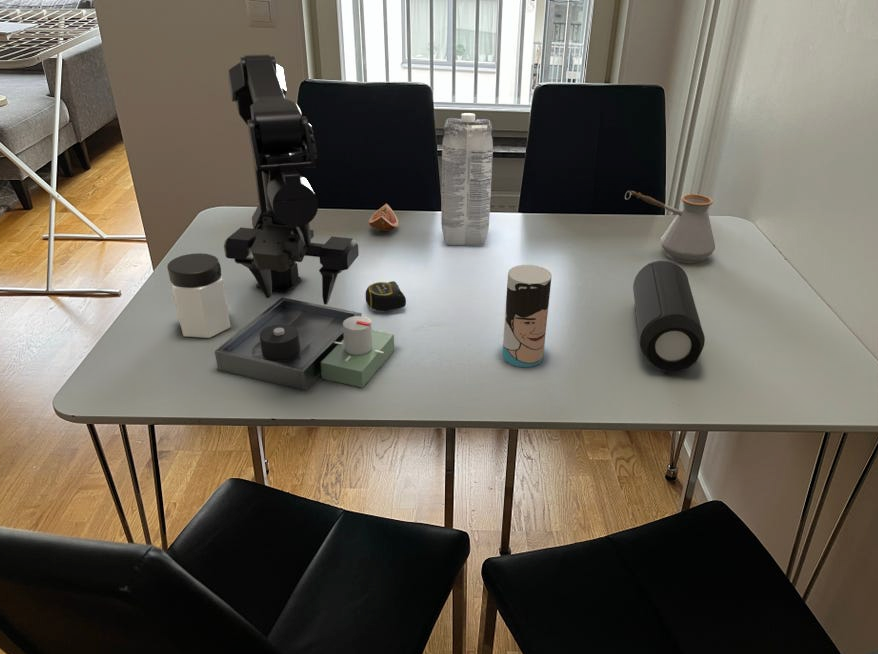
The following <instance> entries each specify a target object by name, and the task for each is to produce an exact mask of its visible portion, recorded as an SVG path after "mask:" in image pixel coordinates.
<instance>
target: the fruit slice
mask: <svg viewBox="0 0 878 654" xmlns="http://www.w3.org/2000/svg"><path fill="white" fill-rule="evenodd" d="M399 223H400V222H399V219H398V217H397V215H396V213H395V211H394V210H393V209H392V208H391V206H390V205H389V204H388V203H385V204H384V205H382V206H381V207H380V208H379V209H377V211H376V212H374V213H373V214H371V217H370V218H369V219H368V224H369V225H370V226H371V228H373V229H375V230H378V231H380V232H389V231H392V230H394V229H396V228H397V227H398V226H399Z"/></svg>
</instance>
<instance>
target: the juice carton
mask: <svg viewBox="0 0 878 654" xmlns="http://www.w3.org/2000/svg"><path fill="white" fill-rule="evenodd" d="M441 146H442V147H441V205H440V207H441V208H440V209H441V215H440V216H441V217H440V218H441V221H440V222H441V223H440V224H441V231H442V236H443V239H444V240H443V241H444V243H445V245H449V246H474V247H475V246H476V247H477V246H478V247H479V246H480V247H482V246H484V245H485V242H486V240H487V236H488V233H489V229H490V215H491V194H492V177H493V157H494V155H493V154H494V135H493V124H492V122H491V120H490V119H487V118H485V119H483V118H482V119H476V114H475V113H470V112H465V113H461V117H460V118H455V117H449V118H447V119H446V120H445V121H444V126H443V132H442V145H441Z"/></svg>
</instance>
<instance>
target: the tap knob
mask: <svg viewBox="0 0 878 654" xmlns="http://www.w3.org/2000/svg"><path fill="white" fill-rule="evenodd" d="M372 330H373V329H372V321H371V319H370V318H368V317H366V316H363V315H362V316H354V317H350V318H347V319H346V320H344V322H343V335H344V348H345V351H346V352H348V353H350V354H354V355H361V354H365V353H368V352H369V351H371V350H372Z"/></svg>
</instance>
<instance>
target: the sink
mask: <svg viewBox="0 0 878 654" xmlns="http://www.w3.org/2000/svg"><path fill="white" fill-rule="evenodd" d="M343 322H344V320H343V319H338V318H333V317H329V316H324V315H319V314H314V313H309V312H303V311H299V310H294V309H289V308H283V309H282V310H281V311H280V312H279V313H277V314H276V315H275V316H274V317H272V318H271V319H270V320H269V321H268V322H266V323H265V324H264V325H263V326H262V327H260V328H259V329H258V330H257V331H255V332H254V333H253V334H252V335H251V336H249V337H248V338H247V339H246V340H245V341H243V342H242V343H241V344H240V345H238V346H237V347H236V348H235V349H234V350H232V351H231V352H233V353H238V354H242V355H247V356H251V357H255V358H260V359H264V360H269V361H273V362H277V363H282V364H286V365H291V366H295V367H300V368H302V367H303V366H304V365H305V364H306V363H307V362H308V361H309V360H310V359H311V358H312V357H313V356H314V355H315V354H316V353H317V352H318V351H319V350H320V349H321V348H322V347H323V346H324V345H325V344H326V343H327V342H328V341H329V340H330V339H331V338H332V337H333V336H334V335H335V334H336V333H337V332H338V331H339V330H340V329H341V328H342V327H343ZM277 324H288V325H292V326H294V327H296V328H297V329H298V332H299V340H300V351H299V352H298V353H297V354H296V355H294V356H292V357H290V358H286V359H271V358H267V357H265V356H264V355H263V353H262V349H261V342H260V332H261V331H262V330H263V329H265V328H266V327H269V326H272V325H277Z"/></svg>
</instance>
